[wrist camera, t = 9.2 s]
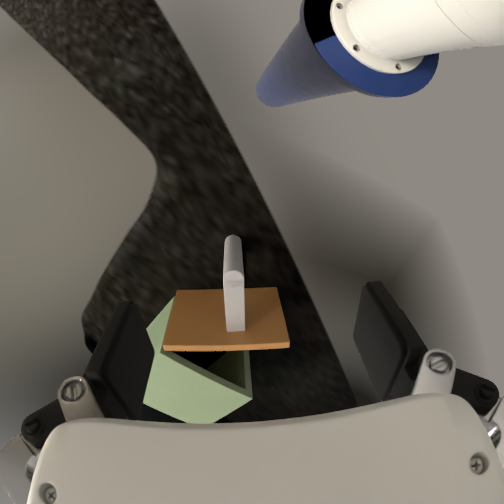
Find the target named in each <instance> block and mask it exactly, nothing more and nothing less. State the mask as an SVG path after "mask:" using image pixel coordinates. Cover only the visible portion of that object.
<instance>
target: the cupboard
mask: <svg viewBox="0 0 504 504" xmlns="http://www.w3.org/2000/svg"><path fill="white" fill-rule="evenodd" d="M174 300H175V296H174V297H173V299H172V300H171V301H170V302H169V303H168V304H167V305H166V307H165V308H164V309H163V310H162V311H161V312H160V314H159V315H158V316H157V317H156V318H155V319H154V321H153V322H152V323H151V324H150V325H149V326H148V328H147V329H146V330H147V332H148V335H149V338H150V340H151V343H152V345H153V348H154V351H155V356H154V360H153V364H152V368H151V372H150V376H149V380H148V384H147V388H146V392H145V396H144V400H143V403H144V404H146V405H148V406H150V407H153V408H155V409H157V410H159V411H161V412H163V413H166V414H168V415H170V416H173V417H175V418H177V419H180V420H182V421H184V422H187V423H190V424H212V423H213V422H215V421H217V420H219V419H220V418H222V417H224V416H225V415H227V414H229V413H230V412H232V411H234V410H235V409H237V408H239V407H240V406H242V405H243V404H245V403H247V402H248V401H250V400H251V399H253V398H252V385H251V373H250V360H249V350H237V351H228V352H227V353H225V354H224V355H223V356H222V357H220V358H219V359H218V360H217V361H216V362H214V363H213V364H212V365H211V366H209V367H208V368H207V369H206V370H205V369H203V368H201V367H199V366H197V365H195V364H193V363H191V362H190V361H188V360H186V359H184V358H182V357H180V356H179V355H177V354H175V353H173V352H172V351H165V350H164V347H163V343H164V339H165V335H166V331H167V327H168V323H169V319H170V315H171V311H172V308H173V304H174Z"/></svg>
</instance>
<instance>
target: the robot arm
mask: <svg viewBox="0 0 504 504" xmlns="http://www.w3.org/2000/svg"><path fill="white" fill-rule="evenodd" d="M337 7H338V8H337ZM330 18H331V23H332V26H333V30H334V32H335V34H336V36H337V38H338V40H339V41H340V42H341V44H342V45H343V47H344V48H345V49H346V50H347V51H348V52H349V53H350V54H351V55H352V56H353V57H354V58H355V59H357V60H358V61H359V62H360V63H362V64H364V65H365V66H367V67H369V68H371V69H373V70H376V71H378V72H382V73H386V74H399V73H404V72H408V71H411V70H412V69H414V68H416V67H417V66H418V65H419V64H420V63H421V61H422V59H423V58H424V55H429V54H434V53H440V52H445V51H453V50H460V49H468V48H478V47H488V46H499V45H504V0H333V1H332V3H331V9H330ZM353 48H355V50H356V51H355V50H354V49H353ZM353 335H354V341H355V344H356V346H357V348H358V350H359V353H360V355H361V358H362V360H363V363H364V365H365V367H366V370H367V372H368V375H369V377H370V380H371V382H372V385H373V387H374V390H375V392H376V395H377V397H378V399H379V400H382V401H383V402H380V403H376V404H371V405H366V406H362V407H357V408H352V409H347V410H342V411H337V412H331V413H326V414H320V415H313V416H306V417H299V418H291V419H282V420H272V421H260V422H245V423H217V424H190V423H163V422H147V421H136V419H138V418H139V417H140V413H141V409H142V405H143V400H144V396H145V392H146V388H147V384H148V380H149V376H150V372H151V368H152V364H153V360H154V356H155V351H154V348H153V345H152V343H151V340H150V338H149V335H148V332H147V330H146V327H145V324H144V322H143V319H142V316H141V314H140V311H139V308H138V306H137V304H134V303H133V302H132V301H119V302H118V303H117V305H116V307H115V309H114V311H113V313H112V315H111V317H110V319H109V321H108V323H107V325H106V327H105V329H104V332H103V334H102V335H101V337H100V339H99V341H98V344H97V346H96V348H95V350H94V352H93V354H92V357H91V359H90V361H89V363H88V366H87V368H86V370H85V373H84V375H83V377H79V376H73V377H70V378H68V379H66V380H65V381H63V383H62V384H61V385H60V387H59V388H58V393H57V394H58V399H57V400H55V401H53V402H52V403H50V404H48V405H46V406H45V407H43V408H41V409H39V410H37V411H36V412H34V413H32V414H31V415H29V416H28V417H26V419H25V420H24V421H23V423H22V427H21V432H22V434H21V435H19V434H18V433H17V434H16V435H15V436H14V437H13V438H12V440H10V442H8V443H7V445H6V446H4V447H3V449H2V450H1V451H0V483H1V484H2V486H3V487H4V489H5V490H6V492H7V493H8V495H9V496H10V498H11V499H12V501H13V502H14V503H15V504H504V396H503V397H502V399H501V398H500V397H499V391H498V388H497V387H496V385H495V384H494V383H493V382H491V381H489V380H487V379H484V378H481V377H479V376H476V375H473V374H471V373H468V372H465V371H462V370H460V369H457V368H456V361H455V359H454V357H453V356H452V355H451V354H450V353H449V352H447V351H445V350H443V349H431V350H429V351H428V349H427V347H426V346H425V345H424V343H423V341H422V340H421V338H420V336H419V335H418V333H417V332H416V330H415V329H414V327H413V326H412V324H411V322H410V321H409V320H408V318H407V317H406V315H405V313H404V312H403V311H402V310H401V309H400V308H399V306H398V305H397V303H396V302H395V301H394V299H393V298H392V296H391V295H390V293H389V292H388V290H387V289H386V288H385V286H384V285H383V283H382V282H381V281H373V282H368V283H366V286H363V287H362V292H361V298H360V303H359V309H358V314H357V319H356V324H355V329H354V334H353Z"/></svg>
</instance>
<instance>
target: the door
mask: <svg viewBox="0 0 504 504" xmlns="http://www.w3.org/2000/svg"><path fill="white" fill-rule="evenodd" d="M223 285H224V289H209V290H177V293H176V296H175V300H174V304H173V308H172V311H171V315H170V319H169V323H168V327H167V331H166V335H165V339H164V343H163V347H164V350H165V351H237V350H260V349H276V348H289V346H290V340H289V336H288V332H287V327H286V323H285V319H284V315H283V311H282V307H281V303H280V299H279V295H278V290H277V287H269V288H244V270H243V257H242V243H241V239H240V238H239V237H238V236H236V235H230V236H228V237H227V238H226V240H225V250H224V271H223Z"/></svg>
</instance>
